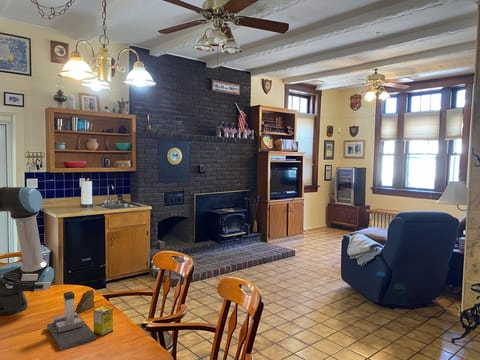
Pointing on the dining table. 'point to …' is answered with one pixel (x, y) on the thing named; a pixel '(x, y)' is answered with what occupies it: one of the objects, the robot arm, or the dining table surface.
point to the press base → (70, 334)
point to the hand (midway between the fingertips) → (43, 281)
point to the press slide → (69, 315)
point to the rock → (86, 301)
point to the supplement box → (103, 320)
